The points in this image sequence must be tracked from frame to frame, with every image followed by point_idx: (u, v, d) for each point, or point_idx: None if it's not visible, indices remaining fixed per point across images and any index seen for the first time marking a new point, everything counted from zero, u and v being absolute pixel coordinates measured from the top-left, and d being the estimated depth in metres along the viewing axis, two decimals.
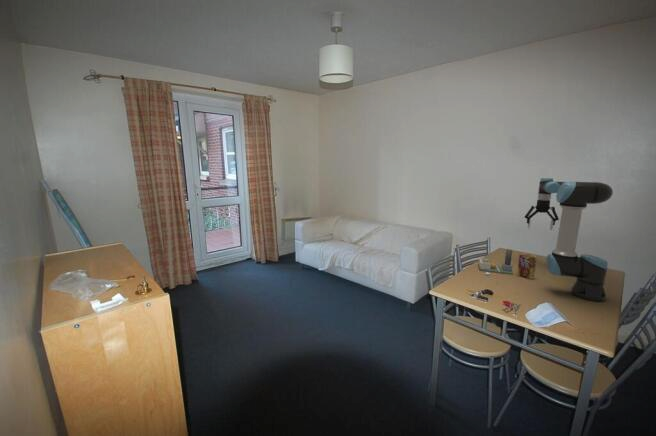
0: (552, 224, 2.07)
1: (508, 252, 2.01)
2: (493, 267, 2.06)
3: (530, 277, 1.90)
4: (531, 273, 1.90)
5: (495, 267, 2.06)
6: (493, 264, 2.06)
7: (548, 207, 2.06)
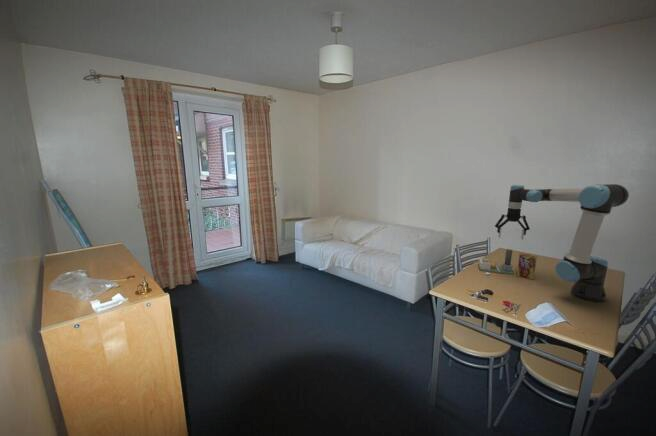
0: (523, 234, 1.96)
1: (508, 252, 2.01)
2: (493, 267, 2.06)
3: (530, 277, 1.90)
4: (531, 273, 1.90)
5: (495, 267, 2.06)
6: (493, 264, 2.06)
7: (519, 216, 1.95)
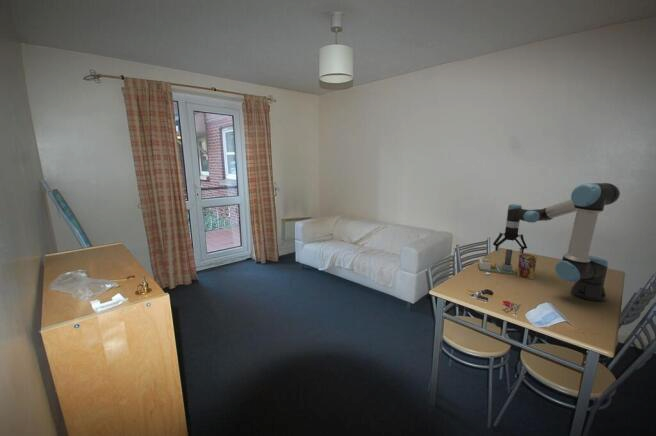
0: (520, 252, 1.98)
1: (508, 252, 2.01)
2: (493, 267, 2.06)
3: (530, 277, 1.90)
4: (531, 273, 1.90)
5: (495, 267, 2.06)
6: (493, 264, 2.06)
7: (516, 235, 1.98)
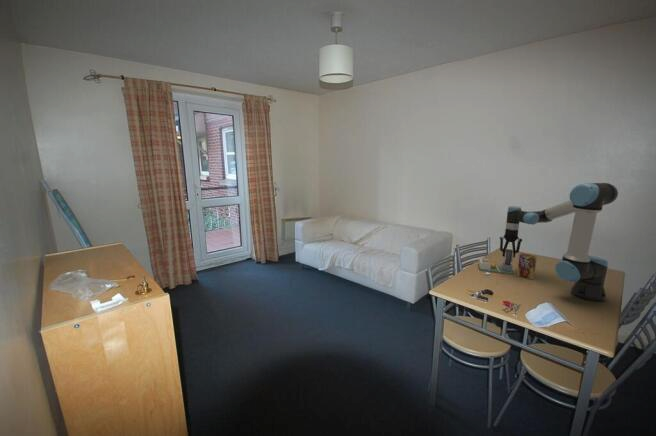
0: (512, 257, 2.01)
1: (508, 252, 2.01)
2: (493, 267, 2.06)
3: (530, 277, 1.90)
4: (531, 273, 1.90)
5: (495, 267, 2.06)
6: (493, 264, 2.06)
7: (517, 237, 1.98)
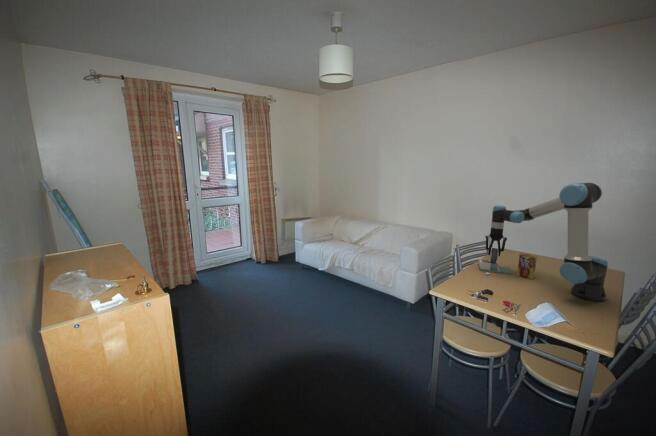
0: (497, 255, 2.04)
1: (493, 251, 2.04)
2: None
3: (530, 277, 1.90)
4: (531, 273, 1.90)
5: None
6: None
7: (502, 236, 2.01)
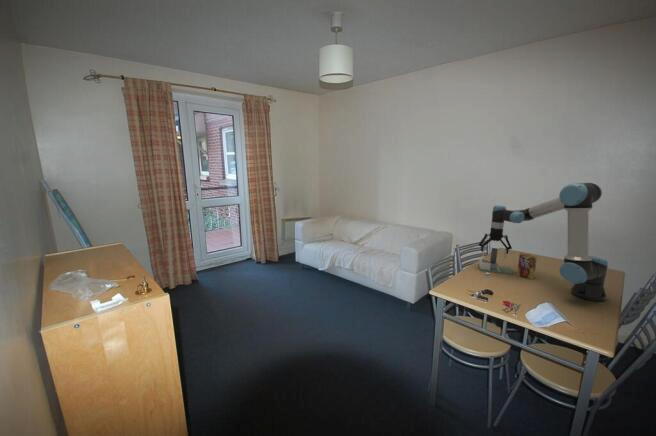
0: (505, 253, 2.02)
1: (493, 251, 2.04)
2: None
3: (530, 277, 1.90)
4: (531, 273, 1.90)
5: None
6: None
7: (501, 235, 2.01)
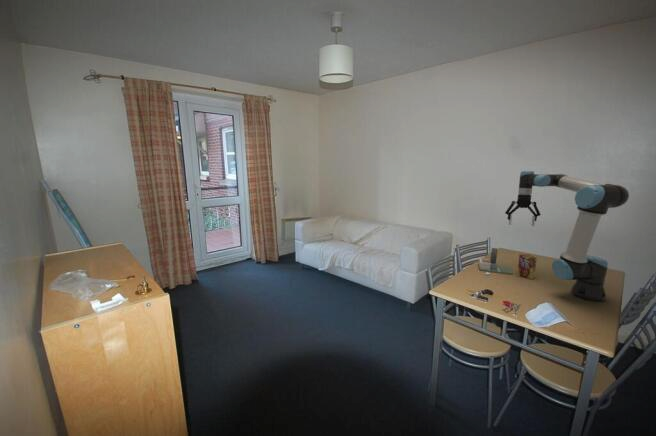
0: (534, 220, 1.95)
1: (493, 251, 2.04)
2: None
3: (530, 277, 1.90)
4: (531, 273, 1.90)
5: None
6: None
7: (529, 202, 1.95)
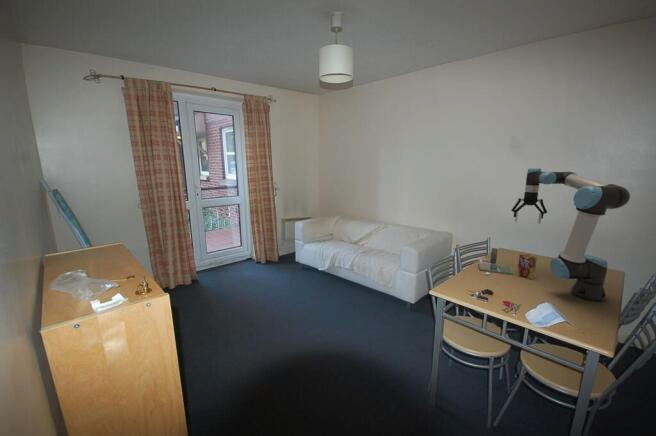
0: (540, 217, 1.95)
1: (493, 251, 2.04)
2: None
3: (530, 277, 1.90)
4: (531, 273, 1.90)
5: None
6: None
7: (536, 199, 1.94)
